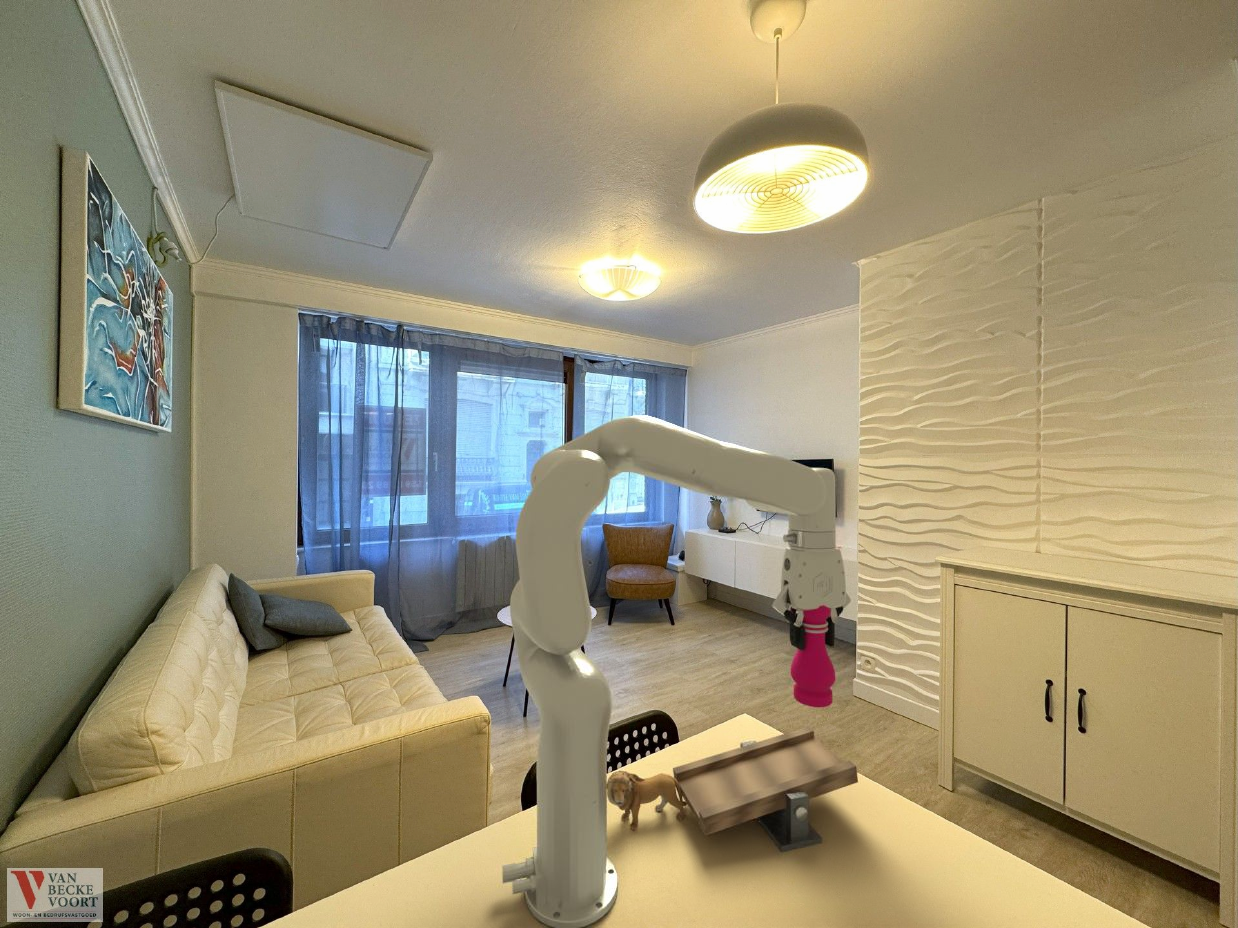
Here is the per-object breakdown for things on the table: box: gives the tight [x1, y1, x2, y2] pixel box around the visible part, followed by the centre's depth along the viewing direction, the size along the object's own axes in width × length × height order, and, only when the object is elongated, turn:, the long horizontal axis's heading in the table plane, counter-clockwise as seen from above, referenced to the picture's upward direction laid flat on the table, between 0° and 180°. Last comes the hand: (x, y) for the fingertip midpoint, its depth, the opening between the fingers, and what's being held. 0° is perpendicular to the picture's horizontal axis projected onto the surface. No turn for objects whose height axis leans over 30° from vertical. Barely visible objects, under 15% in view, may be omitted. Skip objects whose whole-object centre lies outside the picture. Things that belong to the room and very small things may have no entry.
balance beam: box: [672, 726, 859, 836], centre depth 85 cm, size 27×13×3 cm, turn 105°
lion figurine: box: [607, 770, 688, 831], centre depth 83 cm, size 15×5×9 cm, turn 115°
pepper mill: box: [790, 605, 837, 708], centre depth 87 cm, size 7×7×20 cm
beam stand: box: [739, 740, 823, 852], centre depth 85 cm, size 7×17×7 cm, turn 15°
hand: (812, 644), depth 87 cm, fingers closed on pepper mill, 5 cm apart
